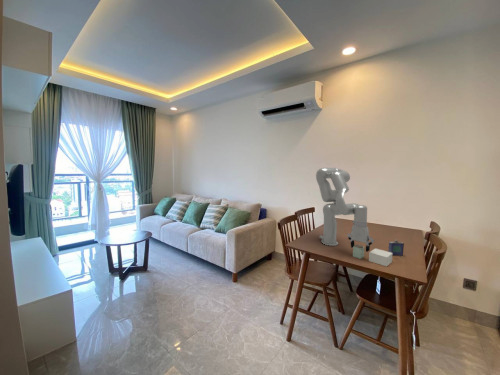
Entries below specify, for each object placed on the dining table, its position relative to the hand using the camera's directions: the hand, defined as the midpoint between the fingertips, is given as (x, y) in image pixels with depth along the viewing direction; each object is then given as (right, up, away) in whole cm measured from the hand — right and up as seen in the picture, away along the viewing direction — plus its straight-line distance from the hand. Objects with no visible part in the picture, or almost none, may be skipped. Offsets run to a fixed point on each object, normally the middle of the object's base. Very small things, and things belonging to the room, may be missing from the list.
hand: (359, 249), depth 140 cm
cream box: (+10, -6, -6) cm, 13 cm away
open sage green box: (0, -5, +1) cm, 6 cm away
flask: (+26, -5, +4) cm, 27 cm away
